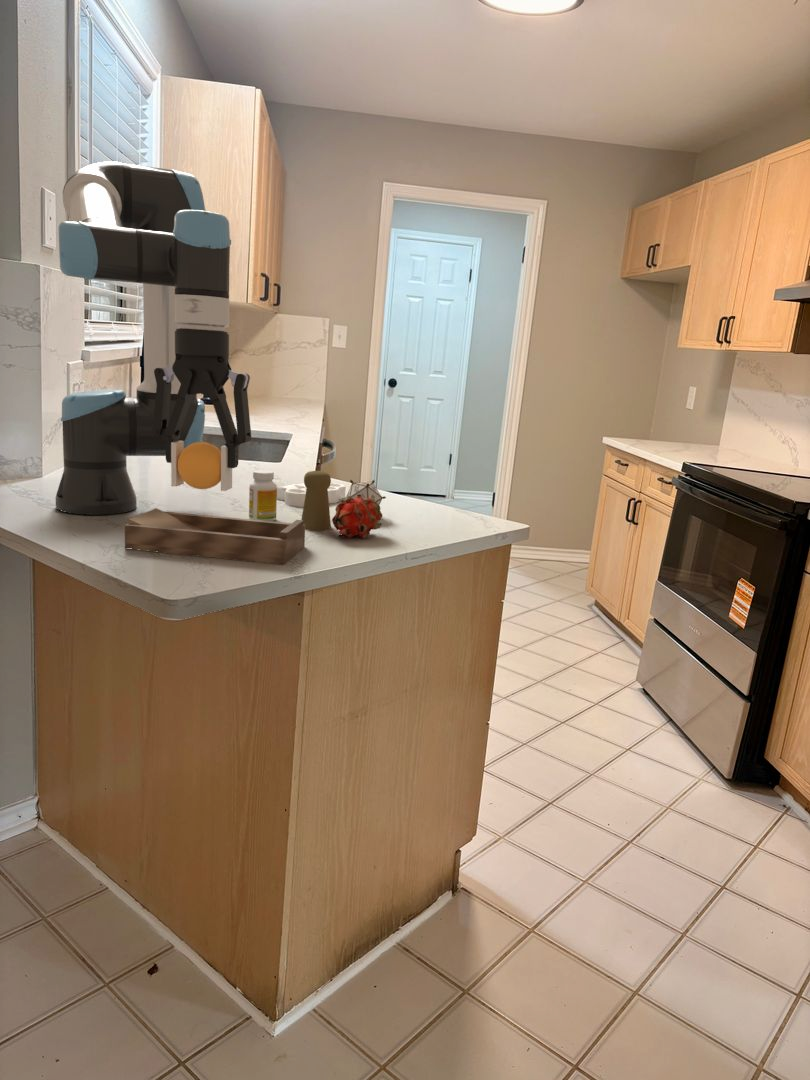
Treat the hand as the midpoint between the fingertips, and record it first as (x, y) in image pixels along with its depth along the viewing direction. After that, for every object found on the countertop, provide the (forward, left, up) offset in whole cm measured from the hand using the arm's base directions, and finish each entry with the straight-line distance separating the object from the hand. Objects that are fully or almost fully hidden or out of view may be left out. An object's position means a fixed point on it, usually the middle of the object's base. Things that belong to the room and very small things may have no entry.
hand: (201, 486), depth 115 cm
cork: (+9, +35, -13) cm, 38 cm away
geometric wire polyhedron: (+16, +47, -13) cm, 51 cm away
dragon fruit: (+18, +30, -13) cm, 37 cm away
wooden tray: (-2, +13, -13) cm, 18 cm away
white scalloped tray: (+1, +62, -13) cm, 63 cm away
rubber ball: (0, 0, +3) cm, 3 cm away
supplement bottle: (-2, +37, -13) cm, 39 cm away
